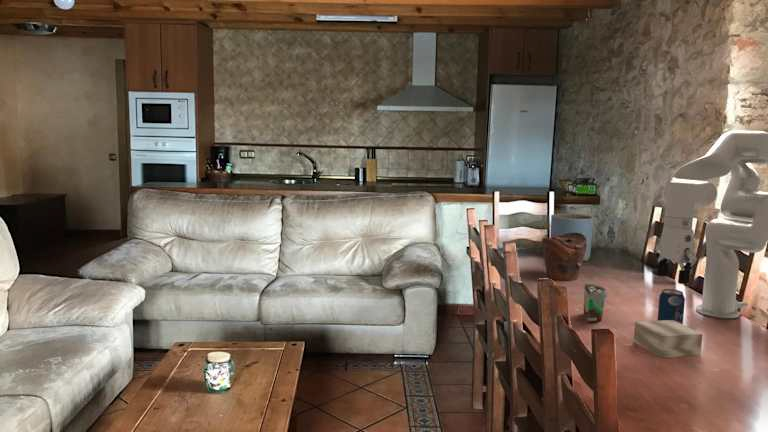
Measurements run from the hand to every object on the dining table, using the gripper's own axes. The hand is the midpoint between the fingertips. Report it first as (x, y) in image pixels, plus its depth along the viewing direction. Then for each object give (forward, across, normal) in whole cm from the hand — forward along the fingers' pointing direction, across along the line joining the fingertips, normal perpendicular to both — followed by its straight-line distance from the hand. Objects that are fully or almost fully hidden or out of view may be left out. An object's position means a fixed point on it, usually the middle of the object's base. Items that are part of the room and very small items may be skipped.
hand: (672, 279), depth 177 cm
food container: (+16, +13, +16) cm, 27 cm away
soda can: (+16, 0, -1) cm, 16 cm away
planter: (+14, +100, -20) cm, 103 cm away
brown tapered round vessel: (+15, +66, +1) cm, 68 cm away
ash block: (+16, -14, +10) cm, 23 cm away
